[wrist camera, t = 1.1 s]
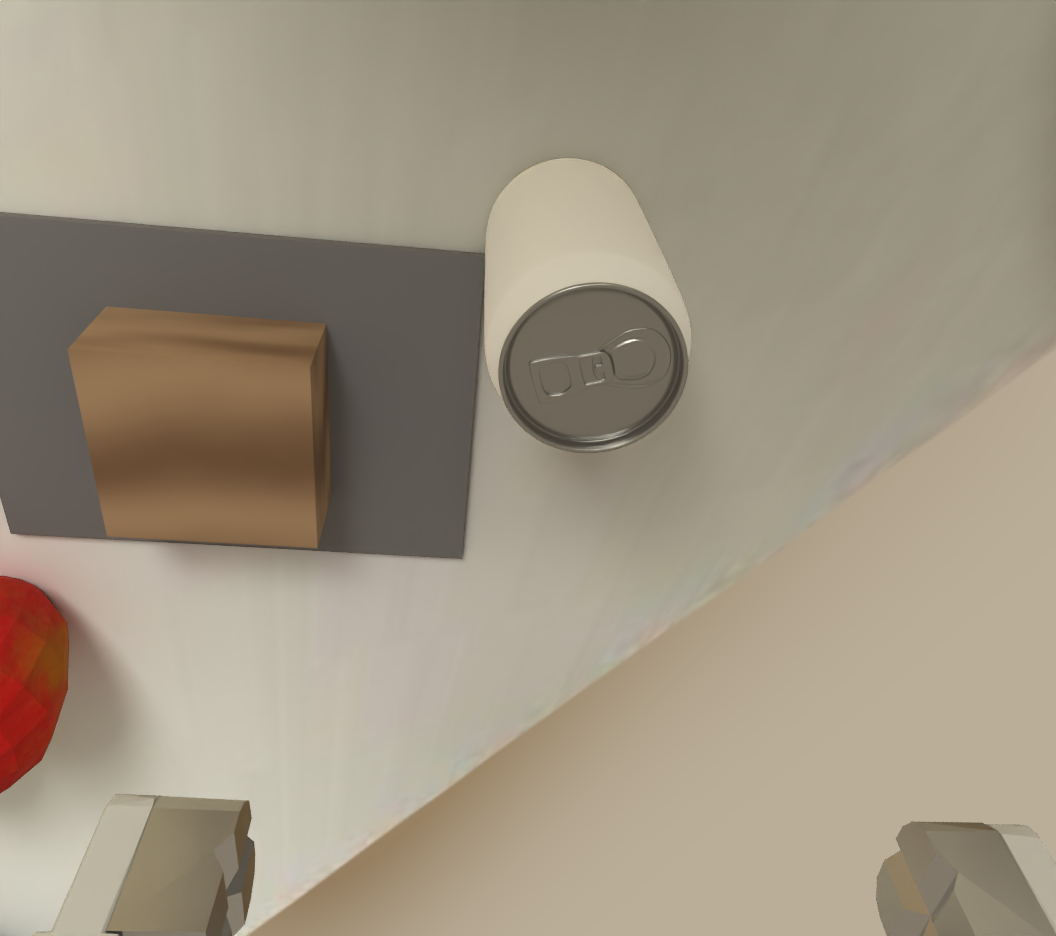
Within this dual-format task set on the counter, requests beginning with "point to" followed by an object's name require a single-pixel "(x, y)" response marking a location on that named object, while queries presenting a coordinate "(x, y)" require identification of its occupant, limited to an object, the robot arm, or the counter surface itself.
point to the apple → (29, 676)
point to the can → (581, 310)
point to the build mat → (256, 292)
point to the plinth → (206, 425)
